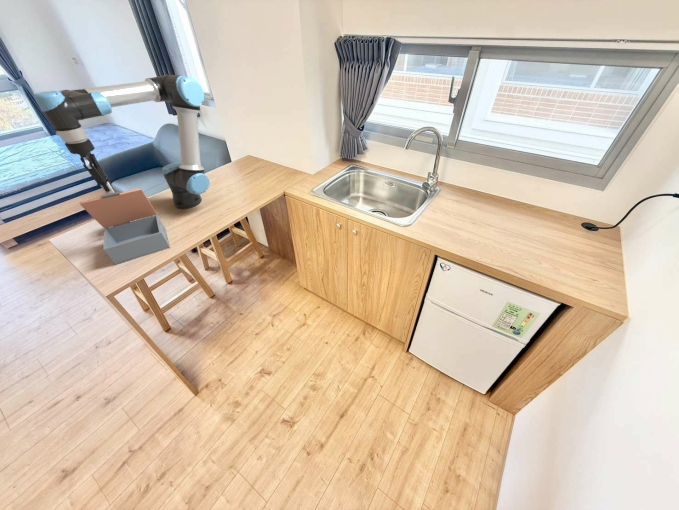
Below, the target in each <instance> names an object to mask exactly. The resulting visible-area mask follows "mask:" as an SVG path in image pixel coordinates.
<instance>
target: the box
mask: <svg viewBox="0 0 679 510" xmlns="http://www.w3.org/2000/svg"><path fill="white" fill-rule="evenodd" d="M103 234H104V235H103V251H104V252H105V254H106V255H107V256H108V258H110V260H111V262H113V264H114V265H115V266H116V265H119V264H123V263H125V262H130V261H133V260H136V259H140V258H142V257H145V256H148V255H151V254H155V253H157V252H158V253H159V252H160V251H164V250H168V249H170V248H171V245H170V243H169V239H168V234H167V231H166V228H165V225H164V223H163V222H162V221H161V218H160V217H159V215H158V214H157V215H153V216H149V217H146V218H142V219H138V220H134V221H131V222H128V223H124V224H120V225H117V226H112V227H108V228H104V233H103Z"/></svg>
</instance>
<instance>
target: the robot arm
mask: <svg viewBox="0 0 679 510" xmlns="http://www.w3.org/2000/svg"><path fill="white" fill-rule="evenodd" d="M33 98H34V100H35V102H36V104H37V105H38V107H39V108H40V111H41V112H42V113H43V114H44V116H45V117H46V118H47V120H48V121H49V124H51V126H52V127H53V129H54V131H55V135H56V136H58V137H59V138H60V139H61V141H62V142H64V146H65V147H66V148H67V150H68V151H69V153H70V154H72V155H79V157H80V158H79V159H80V161H81V163H82V166H83V167H84V169H86V170H87V171H88V173H89V174H90V176H91V177H92V179H93V180H94V181H95V182H96V185H97V186H100V187H101V189H102V190H103V192H104V193H105V194H110V193H114V192H115V190H114V188H112V186H111V184H110V183H109V182H110V179H109V178H107V176H106V174H105V172H104V170H103V169H102V167H101V165H100V164H99V162H98V160H97V158H96V156H95V154H94V153H92V152H93V151H94V150H95V146H94V144H93V142H92V141H91V139H90V138H89V136H88V134H87V133H86V131H85V129H84V128H83V126H82V125H81V123H80V122H79V121H84V120H88V119H93V118H98V117H104V116H106V115H109V114H110V115H111V114H112V112H113V110H112V108H115V107H122V106H127V105H134V104H139V103H145V102H146V103H147V102H151V101H153V102H155V103H161V102H162V103H163V102H166V103H171V104H172V108H173V109H174V110H175V111H176V115H177V116H176V117H177V118H176V119H177V127H178V129H177V130H178V138H179V146H180V155H181V156H180V158H181V162H180V161H179V162H178V161H177V162H173V163H169V164H166V165H164V166H163V167H162V168H161V172H162V175H163V177H164V179H165V181H166V183H167V185H168V188H169V189H170V191H171V194H172V195H171V196H172V203H173V206H174V207H175V208H176V209H181V210H182V209H183V210H186V209H190V208H194V207H196V206H198V205H199V204H201V203H202V201H203V199H202V196H201V195H203V194H204V193H206V192H207V190H208V189H209V188H210V179H209V177H208V176H207V175H206V174H205V168H204V167H203V166H202V164H201V162H202V161H201V150H200V138H199V137H200V136H199V126H198V125H199V124H198V123H199V122H198V114H199V113H200V112H201V106H202V105H203V104H204V102H205V93H204V89H203V88H202V85H200V83H199V82H198V81H197V80H196V79H195V78H193V77H191V76H187V75H176V74H164V75H159V76H155V77H148V78H145V79H144V81H137V82H130V83H121V84H113V85H105V86H104V85H103V86H97V87H87V88H81V89H80V88H79V89H61V90H48V91H41V92H40V91H39V92H36V93H34V95H33Z"/></svg>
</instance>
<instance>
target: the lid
mask: <svg viewBox="0 0 679 510" xmlns="http://www.w3.org/2000/svg"><path fill="white" fill-rule="evenodd" d="M79 205H80V206H81V207H82V208H83V209H84V210H85V211H86V212H87V213H88V214H89V215H90V216H91V217H92V218H93V219H94V220H95V221H96V222H97V223H98V224H99V226H101V227H102V228H103V229H106V228H109V227H113V226H116V225H119V224H123V223H127V222H132V221H135V220H139V219H143V218H147V217H150V216H154V215H158V213H157V211H156V210H155V208H154V207H153V205H152V204H151V201H150V200H149V198H148V197H147V196H146V194H145V193H144V191H143V189H142V188H137V189H133V190H128V191H125V192H124V191H123V192H119V191H114V193H110V194H106V193H105V194H101V197H97V198H94V199H93V198H92V199H89V200H84V201H80V202H79Z"/></svg>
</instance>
